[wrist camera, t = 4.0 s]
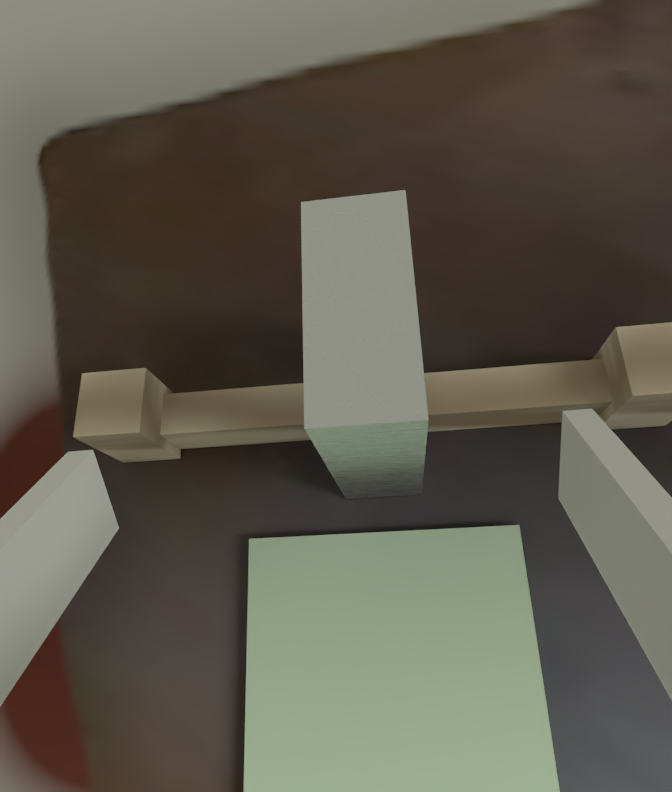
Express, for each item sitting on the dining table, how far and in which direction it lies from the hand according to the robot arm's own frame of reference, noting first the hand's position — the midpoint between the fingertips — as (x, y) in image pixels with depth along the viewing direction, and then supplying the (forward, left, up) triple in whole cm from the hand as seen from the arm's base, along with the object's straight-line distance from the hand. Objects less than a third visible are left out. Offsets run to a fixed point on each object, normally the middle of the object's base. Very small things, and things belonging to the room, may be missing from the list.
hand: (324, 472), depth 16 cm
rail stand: (-5, -2, -11) cm, 12 cm away
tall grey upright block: (-5, -2, -11) cm, 12 cm away
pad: (+5, +4, -11) cm, 12 cm away
